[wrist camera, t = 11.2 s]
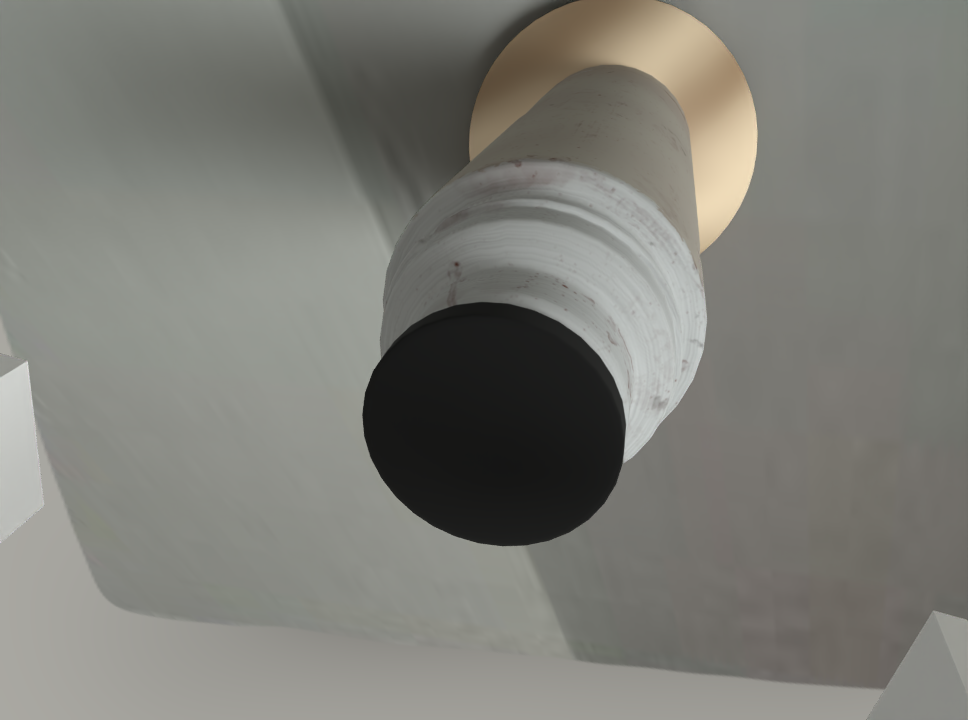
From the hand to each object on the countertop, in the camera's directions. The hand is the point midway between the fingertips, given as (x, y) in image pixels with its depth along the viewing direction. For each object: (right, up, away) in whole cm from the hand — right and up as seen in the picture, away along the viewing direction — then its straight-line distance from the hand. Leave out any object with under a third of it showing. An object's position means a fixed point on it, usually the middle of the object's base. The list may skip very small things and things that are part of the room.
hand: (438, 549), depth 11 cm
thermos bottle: (+7, +13, +28) cm, 31 cm away
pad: (+7, +13, +28) cm, 32 cm away
